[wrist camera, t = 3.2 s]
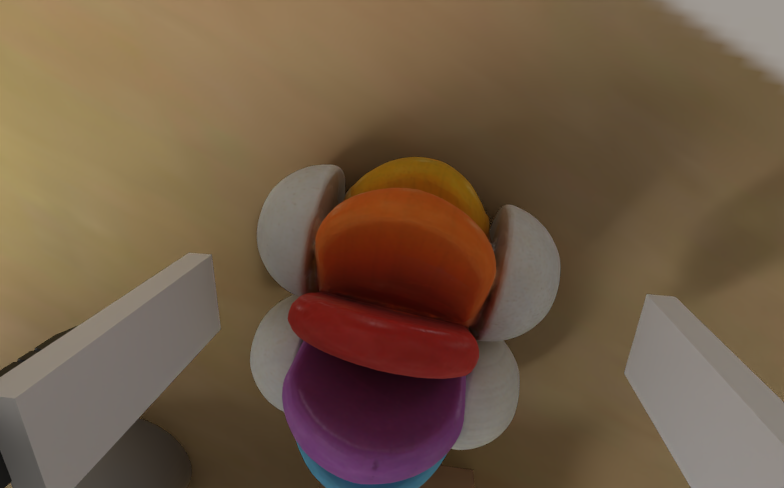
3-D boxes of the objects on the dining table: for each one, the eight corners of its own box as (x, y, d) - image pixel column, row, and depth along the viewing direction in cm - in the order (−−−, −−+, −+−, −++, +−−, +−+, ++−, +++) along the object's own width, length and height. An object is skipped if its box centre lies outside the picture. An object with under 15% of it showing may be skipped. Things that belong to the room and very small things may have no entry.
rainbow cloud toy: (562, 175, 13) (684, 269, 7) (484, 415, 17) (510, 638, 10) (298, 123, 14) (154, 161, 7) (276, 368, 17) (166, 552, 10)
